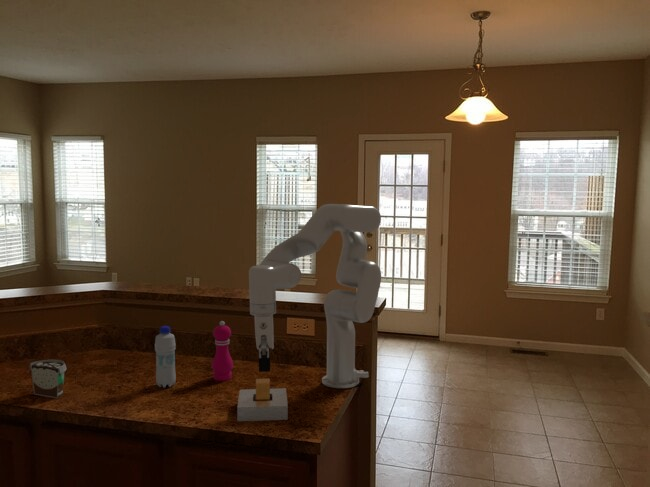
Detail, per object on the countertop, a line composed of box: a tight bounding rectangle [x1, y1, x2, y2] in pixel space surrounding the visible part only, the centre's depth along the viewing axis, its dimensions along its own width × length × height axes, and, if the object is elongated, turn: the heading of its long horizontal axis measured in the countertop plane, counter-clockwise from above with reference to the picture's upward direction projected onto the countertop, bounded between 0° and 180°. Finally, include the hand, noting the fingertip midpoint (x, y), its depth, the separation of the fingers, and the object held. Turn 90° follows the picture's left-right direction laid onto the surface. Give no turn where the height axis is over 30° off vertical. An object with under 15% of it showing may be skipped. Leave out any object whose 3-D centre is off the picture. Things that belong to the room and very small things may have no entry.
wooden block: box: [255, 378, 271, 401], centre depth 159 cm, size 4×4×9 cm
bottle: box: [154, 325, 177, 389], centre depth 179 cm, size 7×7×20 cm
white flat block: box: [236, 387, 289, 422], centre depth 159 cm, size 14×14×4 cm
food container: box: [29, 359, 67, 399], centre depth 172 cm, size 12×6×10 cm, turn 71°
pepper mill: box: [211, 320, 234, 382], centre depth 187 cm, size 7×7×20 cm
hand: (264, 365), depth 159 cm, fingers open, 9 cm apart
